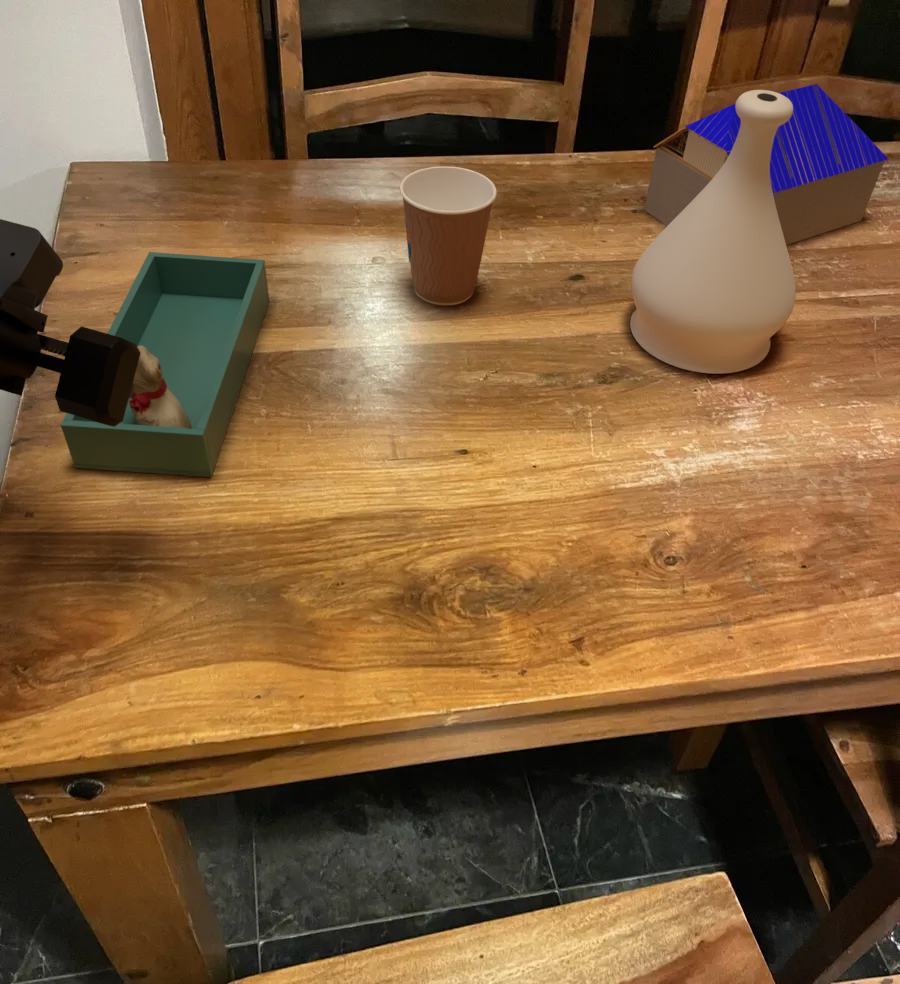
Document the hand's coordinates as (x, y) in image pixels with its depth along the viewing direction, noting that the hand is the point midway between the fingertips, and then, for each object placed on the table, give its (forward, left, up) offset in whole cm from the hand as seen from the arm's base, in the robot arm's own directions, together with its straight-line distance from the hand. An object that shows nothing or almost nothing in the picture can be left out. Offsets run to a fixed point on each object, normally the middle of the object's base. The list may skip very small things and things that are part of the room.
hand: (83, 375), depth 77 cm
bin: (+6, +15, -11) cm, 20 cm away
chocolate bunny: (+5, +5, -11) cm, 13 cm away
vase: (+63, +16, -11) cm, 66 cm away
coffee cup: (+36, +28, -11) cm, 47 cm away
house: (+80, +41, -11) cm, 90 cm away
